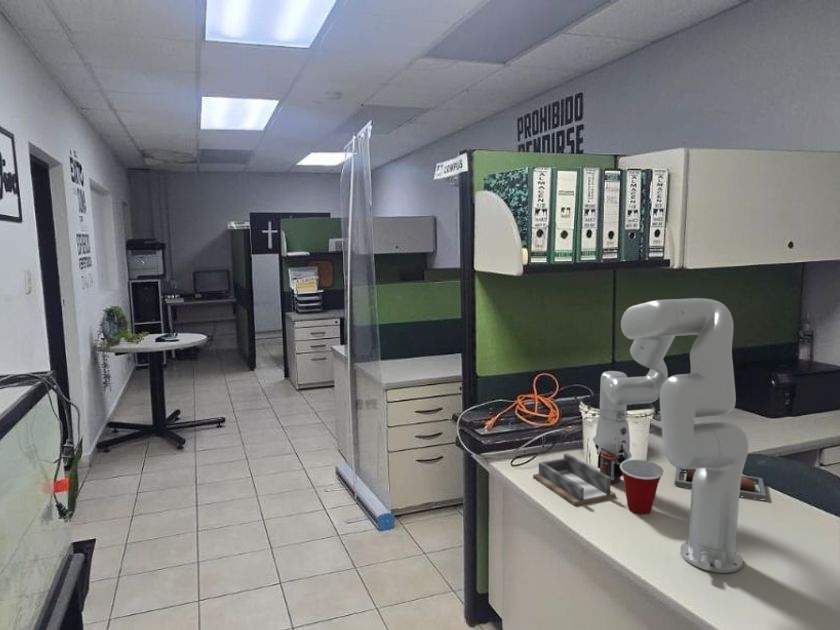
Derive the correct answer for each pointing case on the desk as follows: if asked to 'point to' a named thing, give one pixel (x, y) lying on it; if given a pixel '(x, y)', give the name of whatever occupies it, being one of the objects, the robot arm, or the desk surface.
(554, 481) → the board
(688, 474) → the sunglasses case
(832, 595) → the desk surface
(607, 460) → the supplement bottle
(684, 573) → the desk surface
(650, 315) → the robot arm
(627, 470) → the plastic cup
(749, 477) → the desk tray frame
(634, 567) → the desk surface
